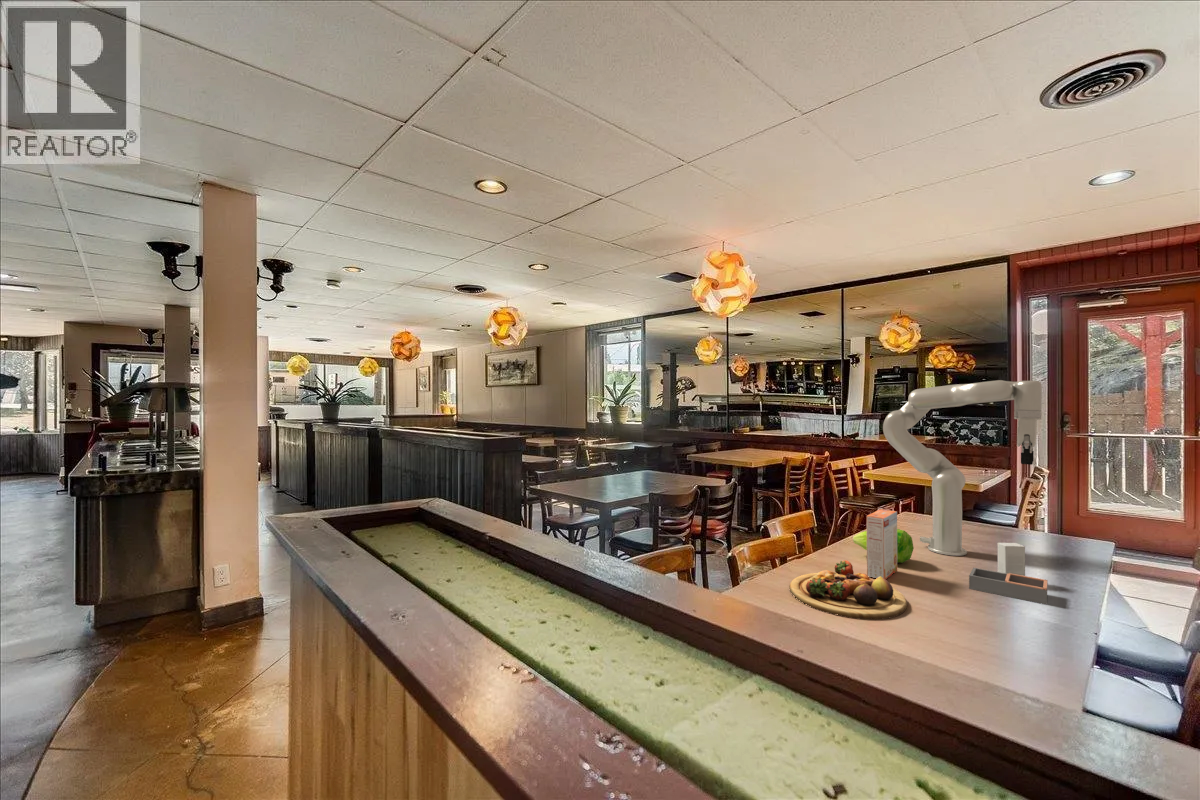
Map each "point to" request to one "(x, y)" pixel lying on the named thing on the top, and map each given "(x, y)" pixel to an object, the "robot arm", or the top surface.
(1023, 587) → the box
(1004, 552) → the skincare box
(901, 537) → the lettuce
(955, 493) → the robot arm
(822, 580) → the wooden plate with food
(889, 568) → the cracker box
